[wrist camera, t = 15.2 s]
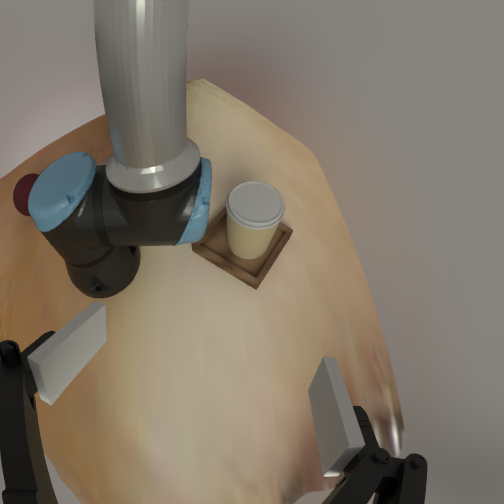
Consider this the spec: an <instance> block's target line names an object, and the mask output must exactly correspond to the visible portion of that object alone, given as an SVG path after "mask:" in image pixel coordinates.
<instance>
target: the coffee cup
mask: <svg viewBox="0 0 504 504" xmlns="http://www.w3.org/2000/svg"><path fill="white" fill-rule="evenodd" d="M226 209H227V241H228V246H229V248H230V250H231V251H232V252H233V253H234V254H235V255H236V256H238V257H240V258H243V259H255V258H258V257H259V256H261V255H262V254H263V253H264V252H265V251H266V249H267V247H268V245H269V243H270V241H271V239H272V237H273V235H274V233H275V231H276V229H277V227H278V225H279V222H280V221H281V219H282V218H283V216H284V213H285V204H284V201H283V198H282V196H281V194H280V193H279V192H278V191H277V190H276V189H275V188H274V187H272V186H271V185H268V184H266V183H263V182H259V181H248V182H243V183H241V184H239V185H237V186H236V187H234V188H233V189H232V190H231V191H230V193H229V194H228V196H227V199H226Z"/></svg>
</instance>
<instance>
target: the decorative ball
mask: <svg viewBox="0 0 504 504" xmlns="http://www.w3.org/2000/svg"><path fill="white" fill-rule="evenodd" d="M39 176H40V175H38V174H28V175H25V176H24V177H22V178H21V179H20V180H19V181H18V183H17V184H16V186H15V189H14V193H13V201H14V204H15V207H16V209H17V210H18V211H19V212H20V213H21V214H23V215H26V216H31V215H30V213H29V209H28V199H29V195H30V192H31V189H32V187H33V185H34V183H35V181H36V180H37V178H38V177H39Z"/></svg>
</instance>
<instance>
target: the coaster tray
mask: <svg viewBox="0 0 504 504" xmlns="http://www.w3.org/2000/svg"><path fill="white" fill-rule="evenodd" d="M292 232H293V230H292V229H290V228H288V227H286V226H285V225H283V224H281V223H279V225H278V227H277V229H276V231H275V233H274V235H273V237H272V239H271V241H270V243H269V245H268V247H267V249H266V251H265V252H264V253H263V254H262V255H261V256H259V257H258V258H255V259H243V258H240V257H238V256H236V255H235V254H234V253H233V252H232V251H231V250H230V248H229V246H228V241H227V209H226V206H225V208H224V209H223V210H222V211H221V212H220V213H219V214H218V216H217V217H216V218H215V219H214V220H213V221H212V222H211V224H210V225H209V226H208V227H207V228H206V231H205V234H204V236H203V237H202V238H201V239H200V240H199V241H198V242H195V243H193V245H192V251H194V252H195V253H197V254H198V255H200V256H202V257H203V258H205V259H207V260H208V261H210V262H211V263H213V264H215V265H216V266H218V267H220V268H221V269H223V270H224V271H226V272H228V273H229V274H231V275H233V276H234V277H236V278H238V279H239V280H241V281H243V282H244V283H246V284H248V285H249V286H251V287H253V288H254V289H256V290H257V288H258V287H259V285H260V283H261V282H262V280H263V279H264V277H265V276H266V274H267V273H268V271H269V269H270V268H271V266H272V265H273V263H274V262H275V260H276V259H277V257H278V255H279V254H280V252H281V251H282V249H283V247H284V246H285V244H286V243H287V241H288V240H289V238H290V236H291V234H292Z"/></svg>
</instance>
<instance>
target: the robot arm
mask: <svg viewBox="0 0 504 504" xmlns="http://www.w3.org/2000/svg"><path fill="white" fill-rule="evenodd" d="M188 10H189V0H94V27H95V41H96V51H97V60H98V69H99V77H100V84H101V90H102V96H103V102H104V108H105V114H106V119H107V124H108V129H109V134H110V138H111V143H112V147H113V153H112V154H111V156H110V157H109V159H108V161H107V164H106V165H101V166H97V165H96V161H95V159H94V158H92V156H91V155H88V154H87V153H86V152H73V153H70V154H67V155H65V156H63V157H61V158H59V159H57V160H56V161H54V162H53V163H52V164H50V165H49V166H48V167H47V168H46V169H45V170H44V171H43V172H42V173H41V174H40V176H39V177H38V178H37V180H36V181H35V183H34V185H33V187H32V189H31V192H30V195H29V199H28V209H29V213H30V215H31V217H32V218H33V220H34V222H35V223H36V226H37V229H38V230H39V231H41V233H42V234H43V235H44V236H45V238H46V239H47V240H48V241H49V243H50V244H51V245H52V246H53V247H54V249H55V250H56V251H57V252H58V253H59V254H60V256H61V257H62V258H63V259H64V260H65V264H66V267H67V271H68V274H69V277H70V279H71V281H72V282H73V284H74V285H75V286H76V287H77V288H78V289H79V290H80V291H81V292H82V293H84V294H85V295H87V296H90V297H93V298H107V297H110V296H113V295H115V294H117V293H119V292H121V291H122V290H124V289H125V288H126V287H127V286H128V285H129V284H130V283H131V281H132V280H133V279H134V277H135V275H136V273H137V271H138V268H139V264H140V251H139V247H138V246H161V245H173V246H177V245H179V244H186V243H195V242H198V241H199V240H200V239H201V238H202V237H203V236H204V234H205V231H206V227H207V222H208V216H209V207H210V202H209V200H210V194H211V183H212V168H211V162H210V160H208V159H206V158H203V157H200V152H199V149H198V147H197V145H196V144H195V143H194V142H193V141H192V140H190V139H189V138H187V128H186V56H187V29H188ZM106 341H107V339H106V304H103V303H100V302H98V301H94V302H93V303H92V304H90V305H89V306H88V307H87V308H85V309H84V310H83V311H82V312H80V313H79V314H78V315H77V316H75V317H74V318H73V319H72V320H70V321H69V322H68V323H67V324H66V325H64V326H63V327H62V328H61V329H60V330H58V331H57V332H54V331H50V332H47V333H44V334H43V335H42V336H41V337H39V339H37V340H36V341H35V342H34V343H32V344H31V345H30V346H28V347H27V348H26V349H25V350H24V351H23V352H21V353H20V349H19V345H18V344H17V343H16V342H14V341H11V340H5V341H2V342H0V453H1V462H2V469H3V475H4V481H5V486H6V488H5V490H4V491H2V499H3V503H4V504H58V502H57V499H56V496H55V493H54V490H53V487H52V484H51V480H50V476H49V473H48V469H47V465H46V461H45V457H44V452H43V447H42V442H41V437H40V431H39V425H38V417H37V409H36V400H35V396H34V394H35V393H36V392H37V391H38V393H39V396H40V399H42V400H43V401H45V402H47V403H48V404H50V405H52V404H53V403H54V402H55V400H56V399H57V398H58V397H59V396H60V394H61V393H62V392H63V391H64V390H65V388H66V387H67V386H68V385H69V384H70V383H71V381H72V380H73V379H74V378H75V377H76V375H77V374H78V373H79V372H80V371H81V370H82V369H83V367H84V366H85V365H86V364H87V363H88V362H89V360H90V359H91V358H92V357H93V356H94V355H95V354H96V353H97V351H98V350H99V349H100V348H101V347H102V346H103V345H104V344H105V342H106ZM308 393H309V398H310V404H311V409H312V415H313V420H314V426H315V431H316V437H317V443H318V449H319V455H320V461H321V467H322V473H323V476H338V475H339V474H340V473H341V472H342V471H344V475H345V476H344V477H343V479H342V480H341V481H340V482H339V483H338V484H337V485H335V486H336V487H335V489H334V490H333V491H332V492H331V493H330V495H329V496H328V497H327V498H326V499H325V501H324V502H323V503H322V504H367V503H368V501H369V500H370V498H371V497H372V495H373V493H374V492H375V497H374V500H373V504H424V501H425V492H426V481H427V461H426V460H425V458H424V457H422V456H421V455H419V454H410V455H409V456H407V457H406V458H405V459H400V458H393V457H391V456H390V454H389V453H388V452H387V451H386V450H385V449H383V448H380V447H379V445H378V442H377V440H376V437H375V434H374V431H373V429H372V427H371V424H370V421H369V418H368V416H367V413H366V412H365V411H364V410H363V408H362V407H361V406H352V404H351V401H350V398H349V395H348V392H347V389H346V387H345V384H344V381H343V378H342V376H341V373H340V370H339V367H338V365H337V362H336V359H335V358H330V357H323V358H322V360H321V363H320V365H319V367H318V370H317V372H316V374H315V376H314V378H313V381H312V383H311V385H310V387H309V389H308Z"/></svg>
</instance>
